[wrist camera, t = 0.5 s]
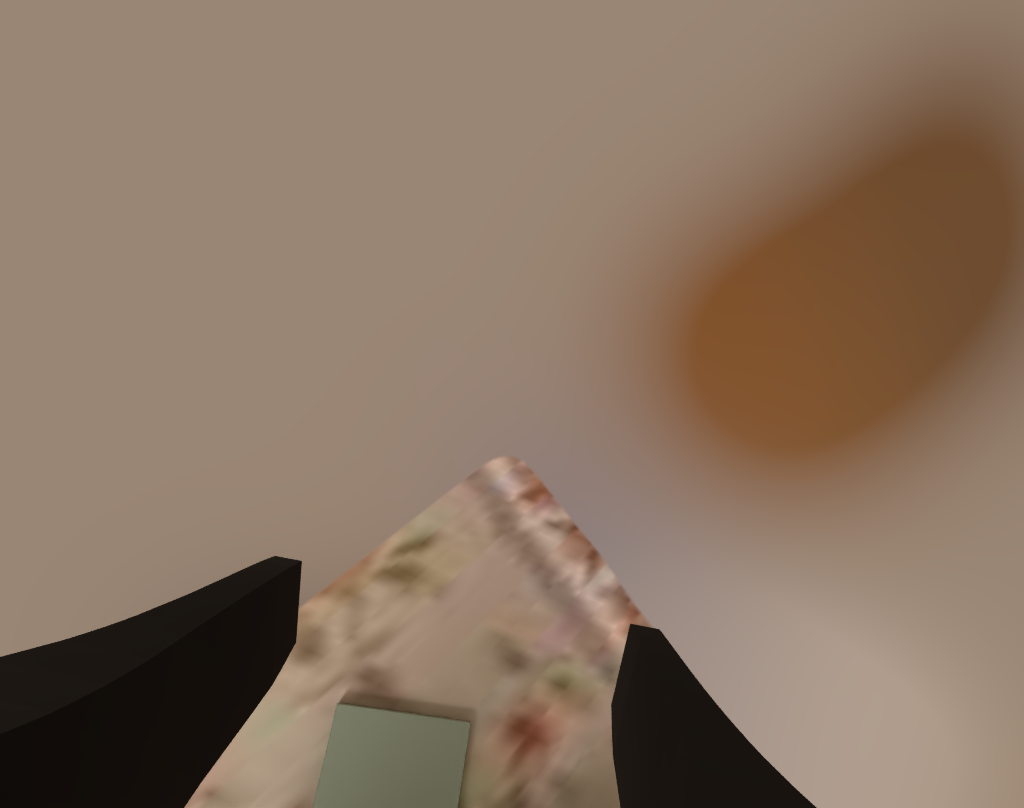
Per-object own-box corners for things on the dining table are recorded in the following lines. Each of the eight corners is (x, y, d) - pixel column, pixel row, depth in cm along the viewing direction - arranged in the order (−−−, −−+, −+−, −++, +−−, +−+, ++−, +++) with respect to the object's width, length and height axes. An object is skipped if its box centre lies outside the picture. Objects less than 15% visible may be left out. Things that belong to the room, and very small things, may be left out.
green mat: (444, 884, 31) (445, 888, 30) (299, 867, 30) (297, 871, 30) (469, 721, 34) (470, 722, 33) (338, 702, 33) (337, 703, 33)
